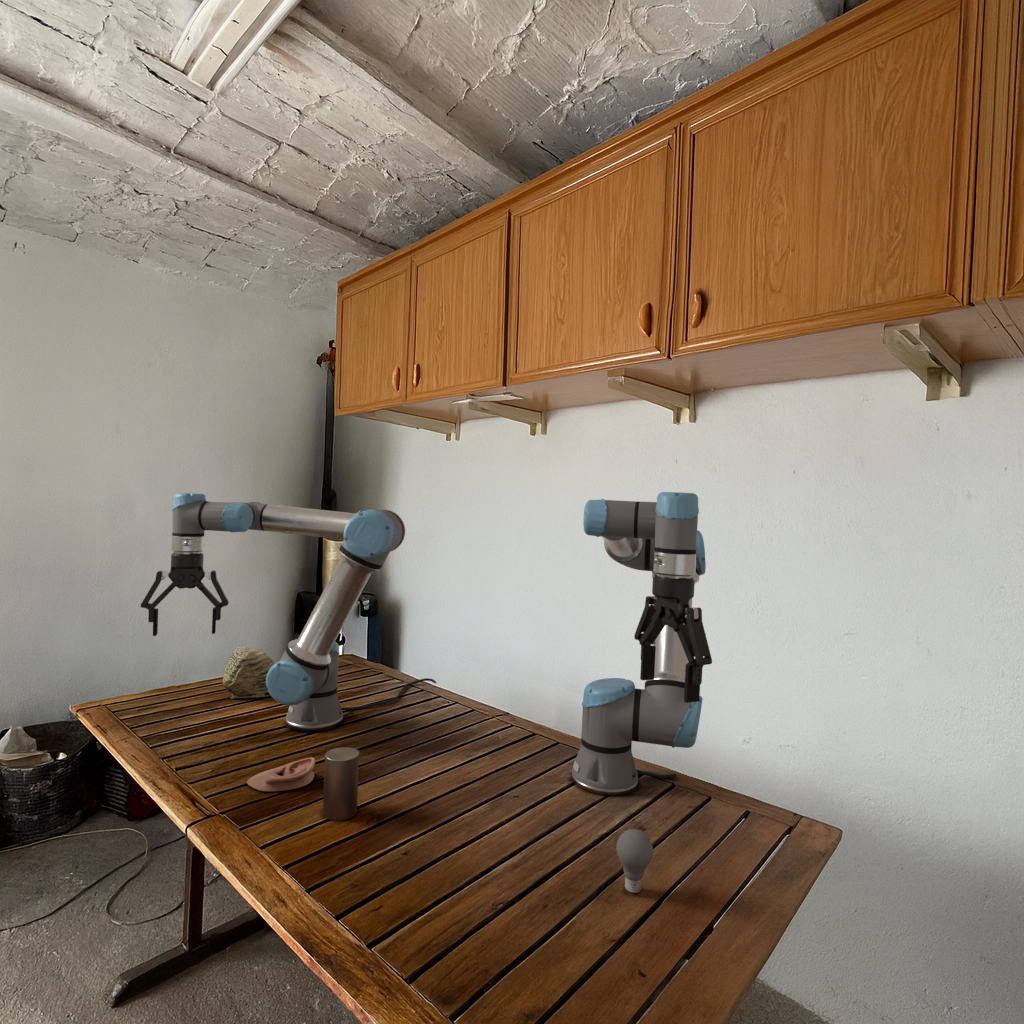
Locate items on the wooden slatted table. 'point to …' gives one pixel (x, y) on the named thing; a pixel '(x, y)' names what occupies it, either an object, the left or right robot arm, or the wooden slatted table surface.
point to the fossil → (247, 673)
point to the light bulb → (634, 857)
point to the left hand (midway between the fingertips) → (184, 633)
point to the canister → (340, 783)
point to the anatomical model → (284, 776)
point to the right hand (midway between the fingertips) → (668, 690)
